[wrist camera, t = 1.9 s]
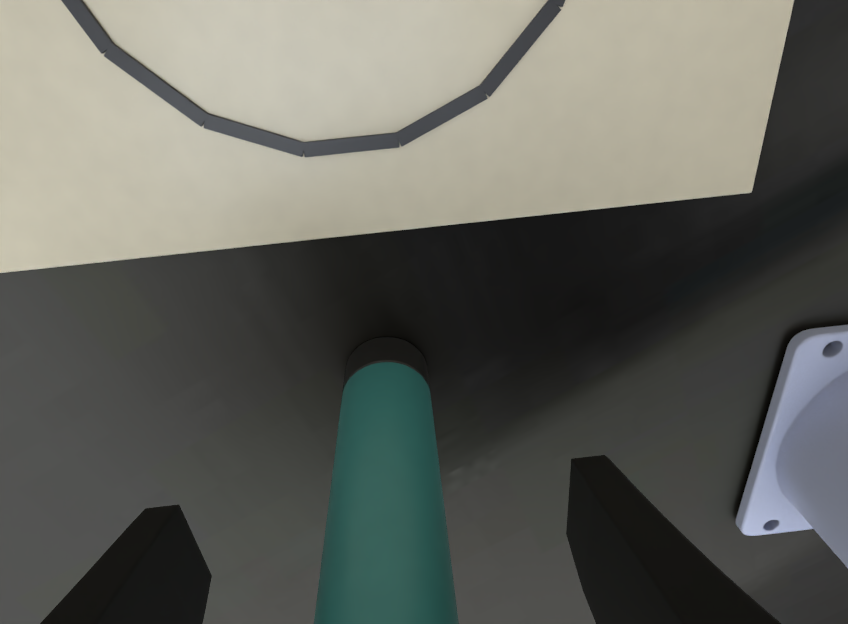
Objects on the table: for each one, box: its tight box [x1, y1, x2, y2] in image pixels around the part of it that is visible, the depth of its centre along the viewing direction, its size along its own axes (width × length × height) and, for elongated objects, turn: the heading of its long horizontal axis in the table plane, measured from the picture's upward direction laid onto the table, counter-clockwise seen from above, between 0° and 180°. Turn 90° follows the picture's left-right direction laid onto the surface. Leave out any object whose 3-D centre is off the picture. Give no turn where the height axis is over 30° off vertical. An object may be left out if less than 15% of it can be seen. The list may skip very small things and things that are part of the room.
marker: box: [314, 337, 459, 624], centre depth 9 cm, size 2×2×10 cm
